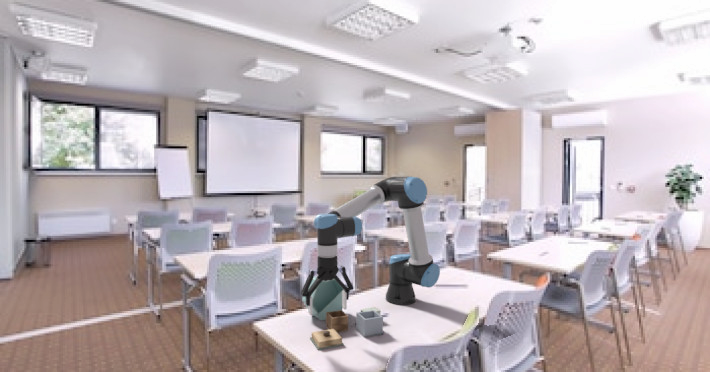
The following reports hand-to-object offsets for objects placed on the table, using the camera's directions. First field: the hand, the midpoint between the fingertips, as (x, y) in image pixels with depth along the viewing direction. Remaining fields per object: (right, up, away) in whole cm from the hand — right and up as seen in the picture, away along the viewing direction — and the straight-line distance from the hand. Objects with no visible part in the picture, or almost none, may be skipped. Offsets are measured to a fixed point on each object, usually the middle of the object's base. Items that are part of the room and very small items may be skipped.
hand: (327, 311), depth 138 cm
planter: (-3, -11, +26) cm, 29 cm away
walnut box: (+3, -11, +12) cm, 17 cm away
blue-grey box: (+16, -12, +9) cm, 22 cm away
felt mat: (-1, -12, 0) cm, 12 cm away
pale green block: (+17, -12, +21) cm, 29 cm away
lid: (0, -11, 0) cm, 11 cm away
